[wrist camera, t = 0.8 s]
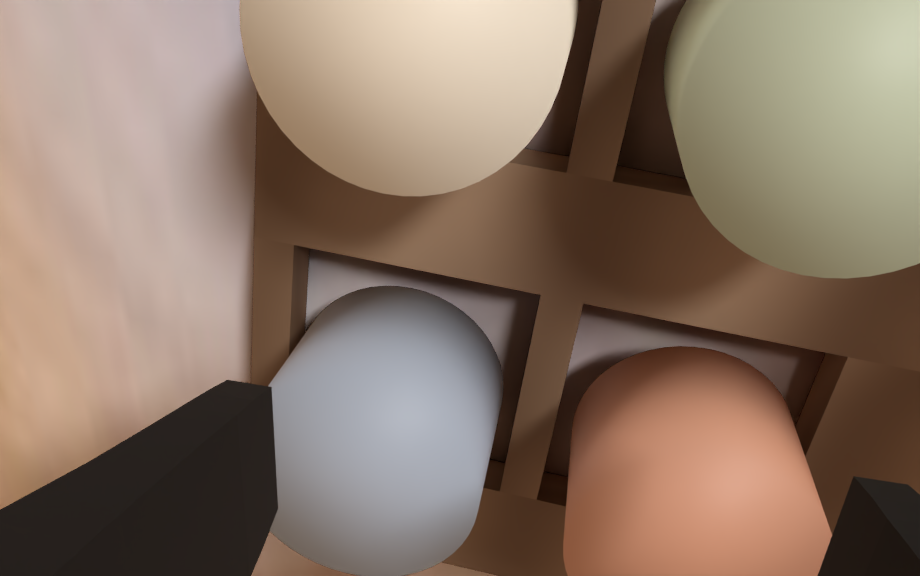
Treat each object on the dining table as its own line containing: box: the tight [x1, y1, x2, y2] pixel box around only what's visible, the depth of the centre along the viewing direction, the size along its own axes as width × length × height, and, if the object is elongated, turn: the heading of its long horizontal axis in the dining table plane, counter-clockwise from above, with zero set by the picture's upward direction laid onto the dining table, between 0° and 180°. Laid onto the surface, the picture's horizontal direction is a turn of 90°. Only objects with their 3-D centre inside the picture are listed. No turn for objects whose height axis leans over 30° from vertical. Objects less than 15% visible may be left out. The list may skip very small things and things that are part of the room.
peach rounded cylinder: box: [563, 346, 832, 576], centre depth 18 cm, size 5×5×4 cm
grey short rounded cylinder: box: [269, 286, 504, 576], centre depth 18 cm, size 5×5×4 cm
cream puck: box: [240, 0, 579, 196], centre depth 14 cm, size 5×5×4 cm
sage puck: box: [664, 0, 920, 279], centre depth 13 cm, size 5×5×4 cm
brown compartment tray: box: [251, 0, 920, 576], centre depth 18 cm, size 17×22×1 cm
